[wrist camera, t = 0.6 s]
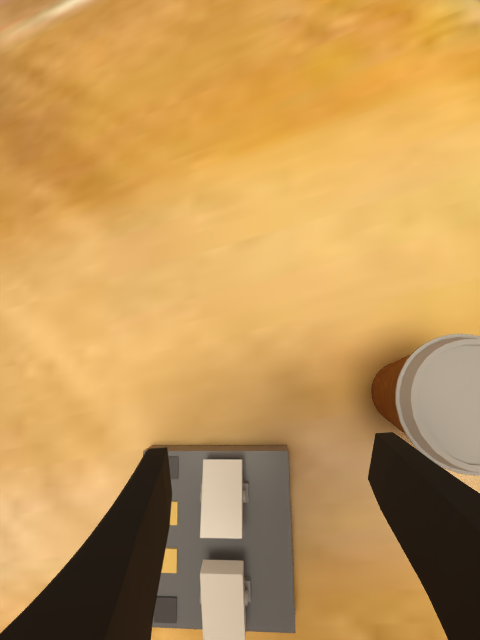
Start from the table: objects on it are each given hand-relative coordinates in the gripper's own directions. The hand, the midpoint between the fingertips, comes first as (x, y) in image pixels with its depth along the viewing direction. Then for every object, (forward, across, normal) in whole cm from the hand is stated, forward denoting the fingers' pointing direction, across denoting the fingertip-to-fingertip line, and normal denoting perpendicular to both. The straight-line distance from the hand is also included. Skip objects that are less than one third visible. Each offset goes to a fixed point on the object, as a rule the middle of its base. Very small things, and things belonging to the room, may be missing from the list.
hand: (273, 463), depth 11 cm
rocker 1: (+13, +2, +16) cm, 21 cm away
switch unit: (+15, +2, +22) cm, 26 cm away
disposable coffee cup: (+18, -17, +10) cm, 27 cm away
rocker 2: (+9, +2, +23) cm, 25 cm away
